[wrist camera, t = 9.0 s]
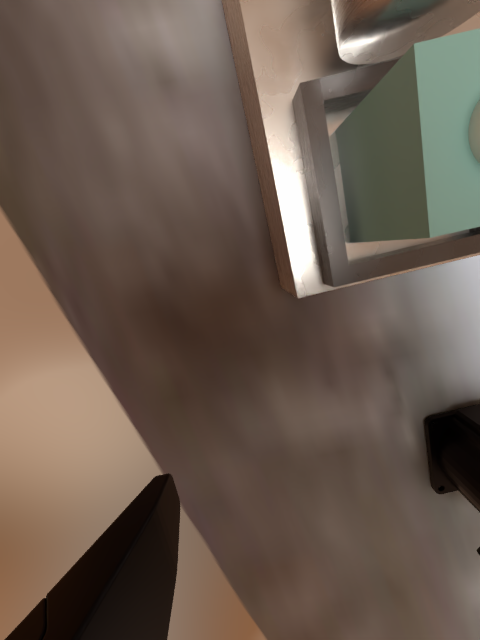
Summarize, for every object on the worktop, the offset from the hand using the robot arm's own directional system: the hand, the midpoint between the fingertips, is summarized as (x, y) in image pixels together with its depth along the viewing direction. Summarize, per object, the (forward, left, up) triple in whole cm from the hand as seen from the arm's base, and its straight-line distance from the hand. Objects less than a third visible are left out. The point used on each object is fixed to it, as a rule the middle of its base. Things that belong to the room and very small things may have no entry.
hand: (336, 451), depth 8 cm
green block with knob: (+7, -7, -8) cm, 13 cm away
